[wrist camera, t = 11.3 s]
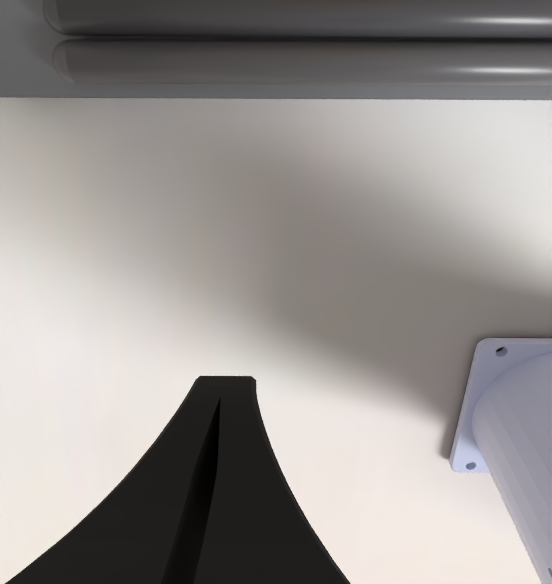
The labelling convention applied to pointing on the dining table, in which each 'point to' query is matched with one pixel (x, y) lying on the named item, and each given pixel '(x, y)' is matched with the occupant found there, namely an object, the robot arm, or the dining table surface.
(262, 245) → the dining table surface
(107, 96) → the grey base plate
